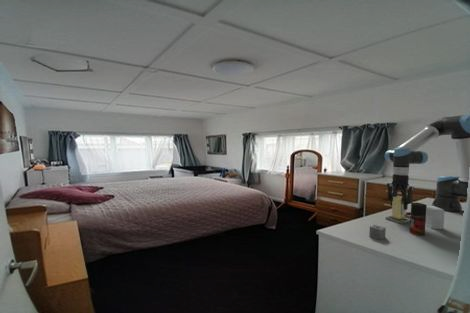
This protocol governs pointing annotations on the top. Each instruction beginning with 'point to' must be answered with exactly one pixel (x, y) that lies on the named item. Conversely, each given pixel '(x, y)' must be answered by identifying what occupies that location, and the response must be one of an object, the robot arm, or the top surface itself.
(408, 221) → the grey flat frame
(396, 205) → the tan wooden beam
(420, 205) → the deodorant
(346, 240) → the top surface
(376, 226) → the dice cube
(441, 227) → the small box
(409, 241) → the top surface
